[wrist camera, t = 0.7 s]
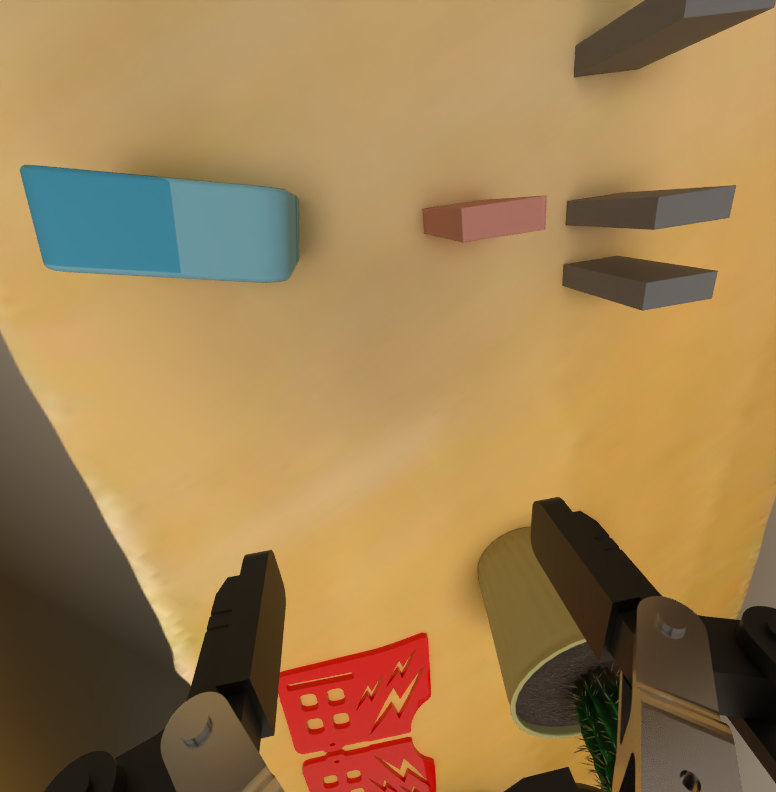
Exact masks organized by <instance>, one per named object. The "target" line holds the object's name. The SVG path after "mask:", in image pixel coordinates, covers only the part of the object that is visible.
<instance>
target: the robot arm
mask: <svg viewBox="0 0 776 792" xmlns="http://www.w3.org/2000/svg"><path fill="white" fill-rule="evenodd" d="M530 539H531V545H532V549H533V552H534V555H535V557H536V559H537V560H538V562H539V564H540V565H541V567H542V569H543V570H544V572H545V573H546V575H547V577H548V578H549V580H550V582H551V583H552V585H553V587H554V588H555V590H556V592H557V593H558V595H559V597H560V598H561V600H562V602H563V603H564V605H565V607H566V608H567V610H568V611H569V613H570V615H571V616H572V618H573V620H574V621H575V623H576V625H577V626H578V628H579V630H580V631H581V633H582V635H583V636H584V638H585V640H586V641H587V643H588V645H589V646H590V648H591V649H592V651H593V653H594V654H595V656H596V658H597V659H598V661H599V663H602V662H606V661H611V660H615V662H616V663H617V665H618V666H619V668H620V669H621V673H620V685H619V709H618V733H617V753H616V762H615V768H614V776H613V785H612V792H742V786H741V780H740V774H739V768H738V762H737V755H736V749H735V743H734V738H733V735H732V732H731V729H730V727H729V726H728V725H727V724H726V723H723V722H722V721H721V719H720V715H725V716H727V717H728V719H729V720H730V721H731V723H732V724H733V725H734V727H735V728H736V730H737V731H738V732H739V734H740V735H741V736H742V738H743V739H744V741H745V742H746V743H747V745H748V746H749V747H750V749H751V750H752V751H753V753H754V754H755V756H756V757H757V758H758V760H759V761H760V762H761V764H762V765H763V766H764V768H765V769H766V770H767V772H768V773H769V775H770V776H771V777H772V779H773V780H774V781H775V783H776V609H774V608H770V607H765V606H754V607H750V608H749V609H747V610H746V611H745V612H744V613H743V616H742V618H741V620H734V619H724V618H715V617H706V616H699V615H697V614H695V613H694V612H693V611H692V610H691V609H690V608H688V607H687V606H685V605H684V604H682V603H680V602H678V601H676V600H673V599H671V598H667V597H663V596H662V595H661V594H660V593H659V592H658V591H657V590H656V589H655V588H654V587H653V585H652V584H651V583H650V582H649V581H648V580H647V578H646V577H645V576H644V575H643V574H642V573H641V572H640V570H639V569H638V568H637V567H636V566H635V565H634V563H633V562H632V561H631V560H630V559H629V558H628V557H627V555H626V554H625V553H624V552H623V551H622V550H620V549H619V546H618V545H617V544H616V543H615V542H614V540H613V539H612V538H610V537H609V535H608V533H607V532H606V531H605V530H604V529H603V528H602V527H601V525H600V524H599V523H598V522H597V521H596V520H594V519H592V518H591V517H589V516H588V515H586V514H585V513H583V512H581V511H577V512H572V511H571V509H570V508H569V507H568V506H567V504H566V503H565V502H564V501H563V500H562V499H561V498H559V497H556V498H550V499H545V500H540V501H535V502H534V503H533V508H532V522H531V536H530ZM285 609H286V597H285V589H284V584H283V581H282V578H281V575H280V571H279V568H278V565H277V562H276V559H275V556H274V553H273V551H272V550H268V551H263V552H258V553H252V554H247V555H245V556H244V559H243V563H242V568H241V572H240V575H239V576H233V577H228V578H227V579H226V581H225V582H224V584H223V585H222V587H221V588H220V590H219V591H218V592H217V594H216V596H215V600H214V604H213V607H212V611H211V617H210V618H209V622H208V626H207V632H206V633H205V637H204V641H203V644H202V648H201V652H200V655H199V659H198V663H197V667H196V670H195V674H194V678H193V681H192V685H191V689H190V692H189V695H188V698H187V700H186V702H185V703H184V704H183V705H182V706H180V707H179V709H178V710H177V711H176V712H175V713H174V714H173V716H172V717H171V719H170V720H169V722H168V724H167V725H166V727H165V728H164V729H163V730H162V731H161V732H159V733H158V734H157V735H155V736H153V737H152V738H150V739H149V740H147V741H145V742H143V743H141V744H140V745H138V746H136V747H134V748H133V749H131V750H129V751H127V752H125V753H124V754H122V755H120V756H118V757H117V758H115V759H114V758H113V757H112V755H111V754H109V753H108V752H104V751H95V752H90V753H88V754H85V755H84V756H81V757H79V758H78V759H76V760H75V761H73V762H72V763H70V764H69V765H68V766H67V767H65V768H64V769H63V770H62V771H61V772H60V773H59V774H58V775H57V776H56V777H55V778H54V779H53V781H52V782H51V783H50V784H49V786H48V787H47V788H46V790H45V791H44V792H284V790H283V788H282V787H281V785H280V784H279V782H278V781H277V779H276V778H275V776H274V775H273V774H272V773H271V772H270V770H269V769H268V767H267V765H266V764H265V762H264V760H263V759H262V757H261V756H260V754H259V750H260V741H261V738H265V737H269V736H274V732H275V721H276V710H277V699H278V687H279V676H280V665H281V654H282V642H283V631H284V620H285ZM504 792H606V791H603V790H601V789H598V788H596V787H593V786H589V785H586V784H582V783H575V781H574V779H573V776H572V774H571V772H570V770H569V767H566V768H562V769H558V770H554V771H550V772H546V773H542V774H538V775H534V776H530V777H526V778H523V779H521V780H520V781H519V782H517V783H516V784H514V785H513V786H511V787H510V788H508V789H507V790H506V791H504Z"/></svg>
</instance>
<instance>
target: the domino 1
mask: <svg viewBox="0 0 776 792" xmlns="http://www.w3.org/2000/svg"><path fill="white" fill-rule="evenodd" d="M546 198H547V196H534V197H519V198H505V199H490V200H480V201H473V202H467V203H460V204H453V205H446V206H440V207H433V208H426V209H422V210H423V222H424V234H429V235H433V236H437V237H442V238H446V239H451V240H455V241H460V242H468V241H474V240H481V239H487V238H494V237H500V236H507V235H513V234H520V233H526V232H533V231H539V230H545V226H546Z"/></svg>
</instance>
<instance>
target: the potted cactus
mask: <svg viewBox="0 0 776 792" xmlns="http://www.w3.org/2000/svg"><path fill="white" fill-rule="evenodd" d="M530 536H531V527H525V528H520V529H516V530H513V531H511V532H508V533H506V534H504V535H503V536H501V537H499V538H498V539H496V540H495V541H494V542H493V543H492V544H491V545H490V546H489V547H488V548H487V549H486V550H485V551H484V553H483V554H482V556H481V558H480V561H479V564H478V579H479V583H480V587H481V591H482V595H483V599H484V603H485V607H486V611H487V615H488V620H489V624H490V628H491V632H492V636H493V640H494V644H495V648H496V652H497V656H498V660H499V665H500V669H501V673H502V677H503V681H504V685H505V690H506V694H507V698H508V701H509V704H510V713H511V716H512V719H513V721H514V723H515V724H516V725H517V726H518V727H519V728H520V729H521V730H523V731H524V732H526V733H528V734H530V735H534V736H537V737H542V738H569V737H575V736H580V735H582V736H583V738H584V741H585V744H586V745H583V747H585V746H586V747H587V748H588V749H587V748H579V749H581V750H579V751H582V750H584V749H587V750H589V751H586V752H590V753H591V755H592V757H593V759H592V758H590V759H591V760H594V762H593V763H594V765H593V766H594V767H595V770H591V771H590V772H593V771H597V772H595V773H598V775H599V778H600V779H599V778H598V777H597V776H596V775H595V776H596V777H597V778H598V779H599V780H600V781H601V783H600V782H598V783H599V784H600V786H599V785H596V786H599V787H601V790H603V791H606V792H612V785H613V776H614V768H615V762H616V753H617V733H618V709H619V685H620V673H621V669H620V668H619V666H618V665H617V663H616V662H615V660H611V661H606V662H602V663H599V661H598V659H597V658H596V656H595V654H594V653H593V651H592V649H591V648H590V646H589V645H588V643H587V641H586V640H585V638H584V636H583V635H582V633H581V631H580V630H579V628H578V626H577V625H576V623H575V621H574V620H573V618H572V616H571V615H570V613H569V611H568V610H567V608H566V607H565V605H564V603H563V602H562V600H561V598H560V597H559V595H558V593H557V592H556V590H555V588H554V587H553V585H552V583H551V582H550V580H549V578H548V577H547V575H546V573H545V572H544V570H543V569H542V567H541V565H540V564H539V562H538V560H537V559H536V557H535V555H534V552H533V549H532V545H531V539H530ZM575 738H576V737H575ZM578 739H579V738H578ZM580 740H583V739H580ZM580 747H582V746H580ZM576 752H578V751H576ZM574 753H575V752H574ZM591 755H589V756H591ZM586 758H587V759H588V756H587V757H586ZM588 761H590V760H588ZM590 762H592V761H590ZM578 763H579V762H578ZM583 764H585V763H583ZM587 765H590V764H587ZM593 773H594V772H593ZM591 774H592V773H591ZM598 779H595V780H598ZM593 785H594V784H593Z"/></svg>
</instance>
